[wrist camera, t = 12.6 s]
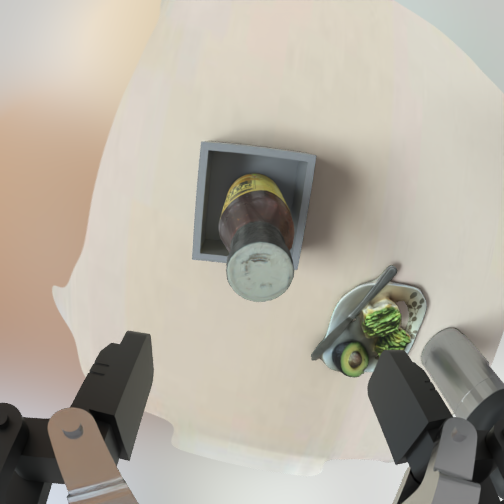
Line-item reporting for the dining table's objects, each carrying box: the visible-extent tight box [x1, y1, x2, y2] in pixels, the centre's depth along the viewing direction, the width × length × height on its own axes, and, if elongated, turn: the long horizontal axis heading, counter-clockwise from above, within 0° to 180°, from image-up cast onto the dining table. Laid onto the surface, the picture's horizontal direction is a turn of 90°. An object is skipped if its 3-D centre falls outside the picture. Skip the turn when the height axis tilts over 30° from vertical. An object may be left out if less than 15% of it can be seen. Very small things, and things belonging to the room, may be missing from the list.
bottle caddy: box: [192, 141, 316, 270], centre depth 35 cm, size 12×13×6 cm
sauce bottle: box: [219, 173, 295, 302], centre depth 27 cm, size 6×6×20 cm
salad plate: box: [311, 265, 427, 377], centre depth 43 cm, size 19×18×5 cm
